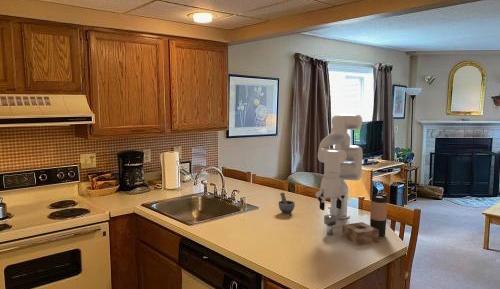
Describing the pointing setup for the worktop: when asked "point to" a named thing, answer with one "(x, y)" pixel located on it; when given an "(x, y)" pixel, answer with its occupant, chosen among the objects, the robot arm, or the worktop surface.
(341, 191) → the robot arm
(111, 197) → the worktop surface
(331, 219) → the peg
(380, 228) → the travel mug
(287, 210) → the mortar and pestle
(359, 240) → the block
